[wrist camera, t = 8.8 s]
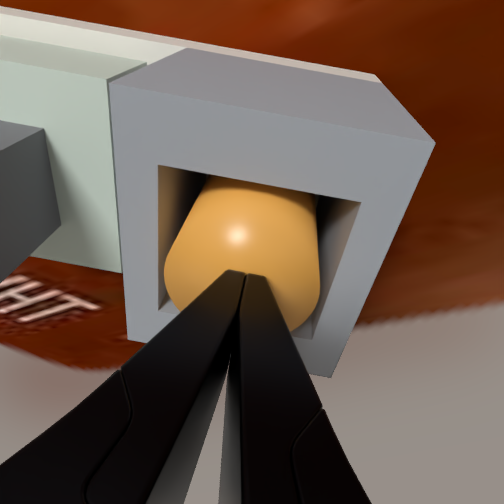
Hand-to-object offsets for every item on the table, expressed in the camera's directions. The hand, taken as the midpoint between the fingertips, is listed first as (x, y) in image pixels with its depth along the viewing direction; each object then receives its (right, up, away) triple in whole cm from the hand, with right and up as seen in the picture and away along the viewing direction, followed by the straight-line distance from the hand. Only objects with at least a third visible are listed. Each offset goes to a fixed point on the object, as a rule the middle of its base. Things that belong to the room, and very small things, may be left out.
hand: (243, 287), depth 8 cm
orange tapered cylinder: (+1, +3, +5) cm, 6 cm away
